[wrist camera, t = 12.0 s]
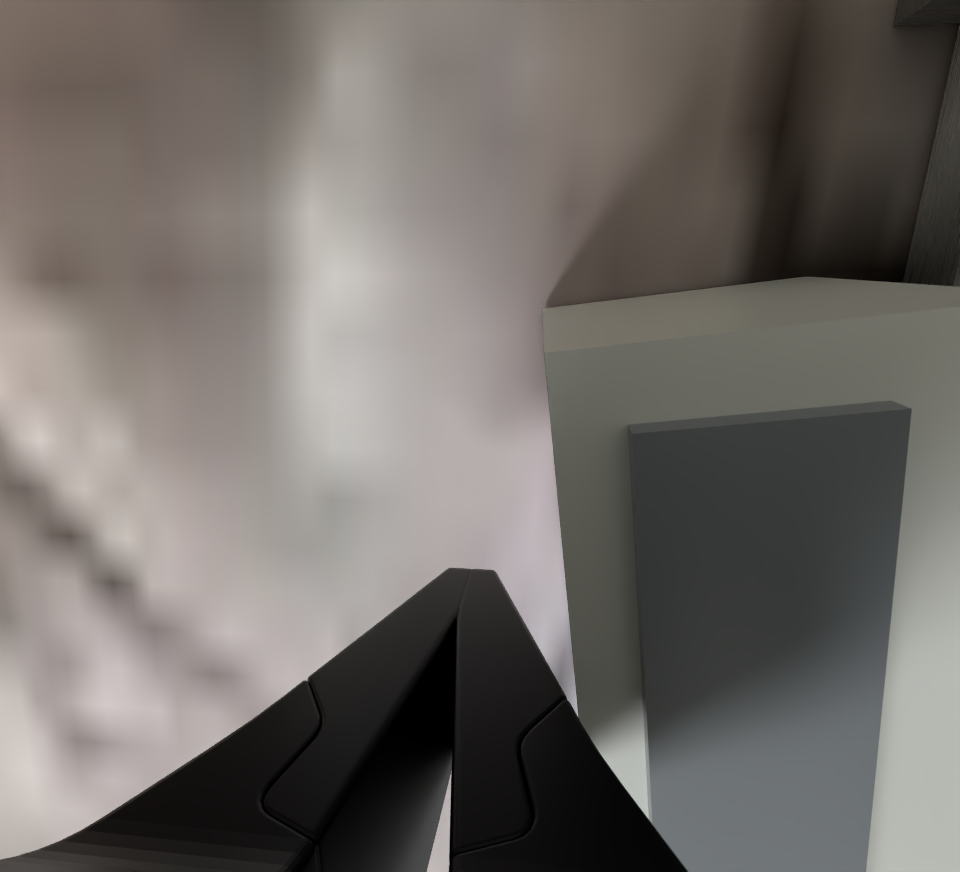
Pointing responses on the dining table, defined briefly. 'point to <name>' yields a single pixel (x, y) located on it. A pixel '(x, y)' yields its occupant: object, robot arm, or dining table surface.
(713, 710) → the block
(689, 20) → the dining table surface
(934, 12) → the rail
